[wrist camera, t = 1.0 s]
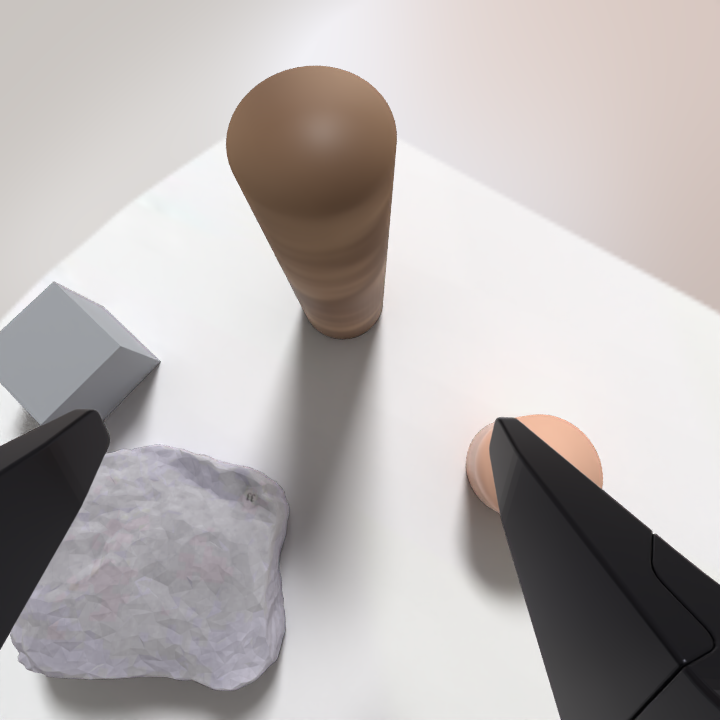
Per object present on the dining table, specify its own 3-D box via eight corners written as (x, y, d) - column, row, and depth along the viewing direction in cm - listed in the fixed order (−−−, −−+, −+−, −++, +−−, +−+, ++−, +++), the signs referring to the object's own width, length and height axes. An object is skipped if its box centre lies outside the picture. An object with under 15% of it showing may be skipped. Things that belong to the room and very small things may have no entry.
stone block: (106, 452, 24) (47, 653, 21) (52, 434, 20) (-36, 686, 16) (305, 464, 24) (284, 667, 20) (295, 448, 20) (265, 705, 16)
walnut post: (346, 355, 23) (316, 249, 10) (287, 304, 24) (190, 146, 11) (399, 296, 24) (432, 128, 11) (340, 248, 24) (306, 37, 12)
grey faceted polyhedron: (96, 428, 23) (40, 425, 19) (40, 369, 24) (-26, 355, 20) (162, 362, 24) (120, 345, 20) (104, 307, 24) (53, 281, 20)
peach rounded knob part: (522, 537, 21) (557, 558, 17) (446, 470, 22) (463, 477, 18) (579, 462, 22) (626, 466, 18) (504, 400, 22) (532, 391, 19)
